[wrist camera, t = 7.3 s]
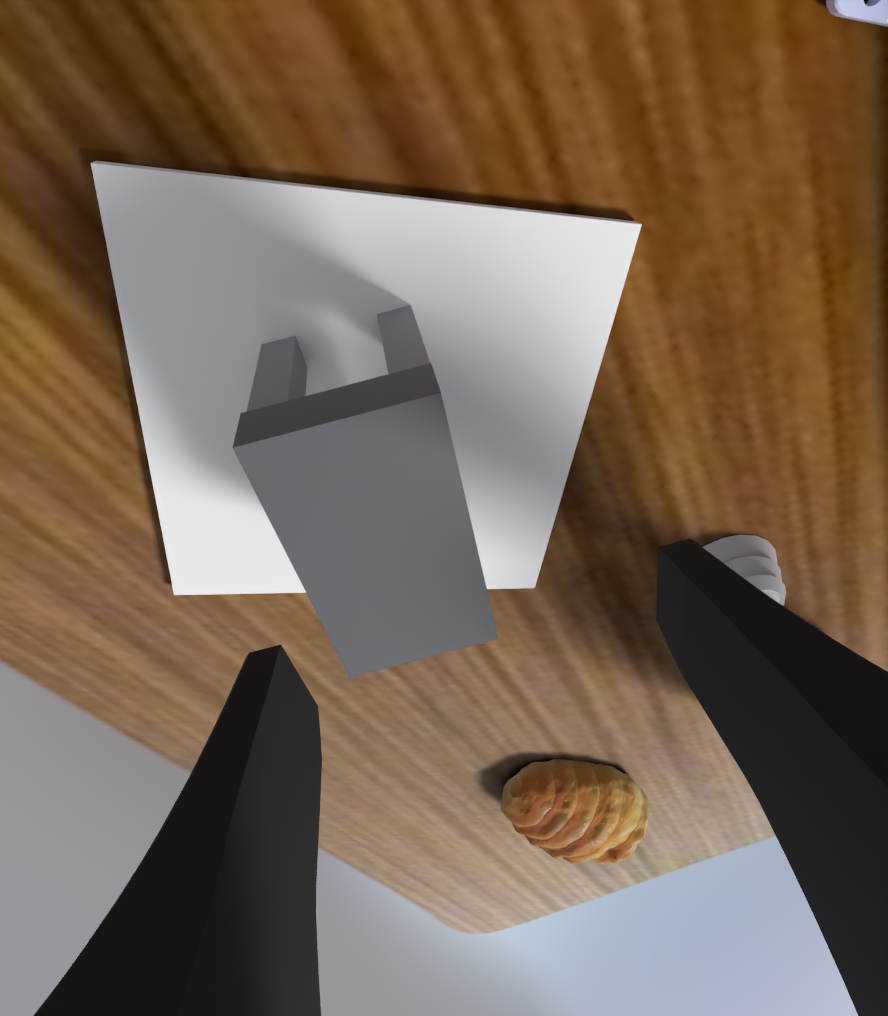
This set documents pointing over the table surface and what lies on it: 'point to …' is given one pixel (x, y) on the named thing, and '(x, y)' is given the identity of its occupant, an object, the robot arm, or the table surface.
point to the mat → (353, 344)
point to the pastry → (577, 810)
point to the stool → (369, 502)
